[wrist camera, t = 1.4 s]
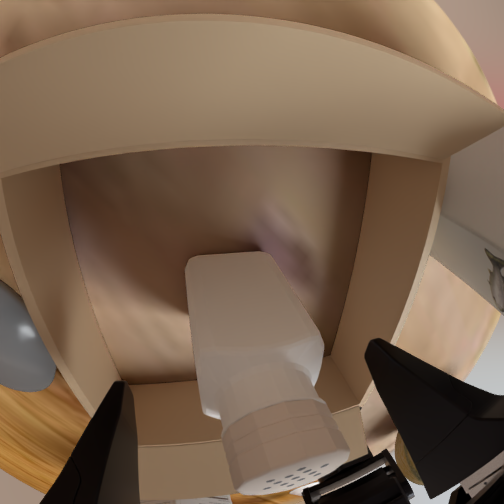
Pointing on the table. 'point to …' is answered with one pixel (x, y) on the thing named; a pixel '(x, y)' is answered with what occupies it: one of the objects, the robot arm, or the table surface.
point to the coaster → (21, 347)
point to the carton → (224, 134)
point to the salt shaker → (260, 373)
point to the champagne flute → (299, 490)
